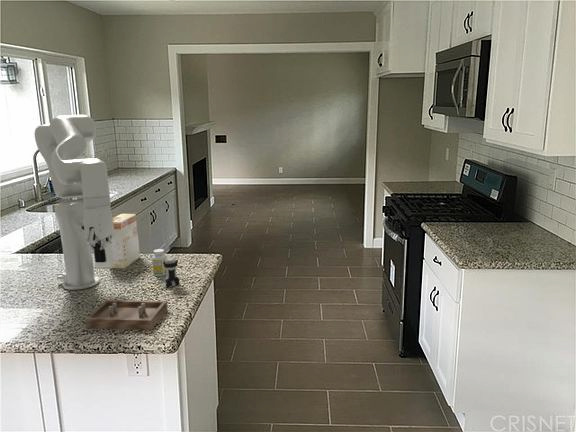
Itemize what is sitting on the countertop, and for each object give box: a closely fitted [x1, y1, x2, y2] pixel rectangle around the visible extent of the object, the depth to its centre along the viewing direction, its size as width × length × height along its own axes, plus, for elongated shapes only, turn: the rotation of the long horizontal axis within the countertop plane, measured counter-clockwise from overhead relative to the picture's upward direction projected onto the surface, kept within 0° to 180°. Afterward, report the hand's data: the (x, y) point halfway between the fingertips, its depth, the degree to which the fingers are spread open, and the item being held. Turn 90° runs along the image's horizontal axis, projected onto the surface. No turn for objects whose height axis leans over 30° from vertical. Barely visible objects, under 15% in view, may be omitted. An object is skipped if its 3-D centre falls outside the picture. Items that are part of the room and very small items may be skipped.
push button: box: [160, 257, 180, 288], centre depth 174 cm, size 7×5×10 cm
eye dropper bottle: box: [92, 238, 114, 270], centre depth 148 cm, size 4×6×12 cm
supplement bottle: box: [151, 248, 167, 277], centre depth 186 cm, size 5×5×10 cm
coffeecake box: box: [111, 213, 141, 269], centre depth 200 cm, size 15×7×20 cm, turn 172°
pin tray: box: [84, 299, 168, 331], centre depth 148 cm, size 20×14×4 cm
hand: (103, 259), depth 149 cm, fingers closed on eye dropper bottle, 3 cm apart
